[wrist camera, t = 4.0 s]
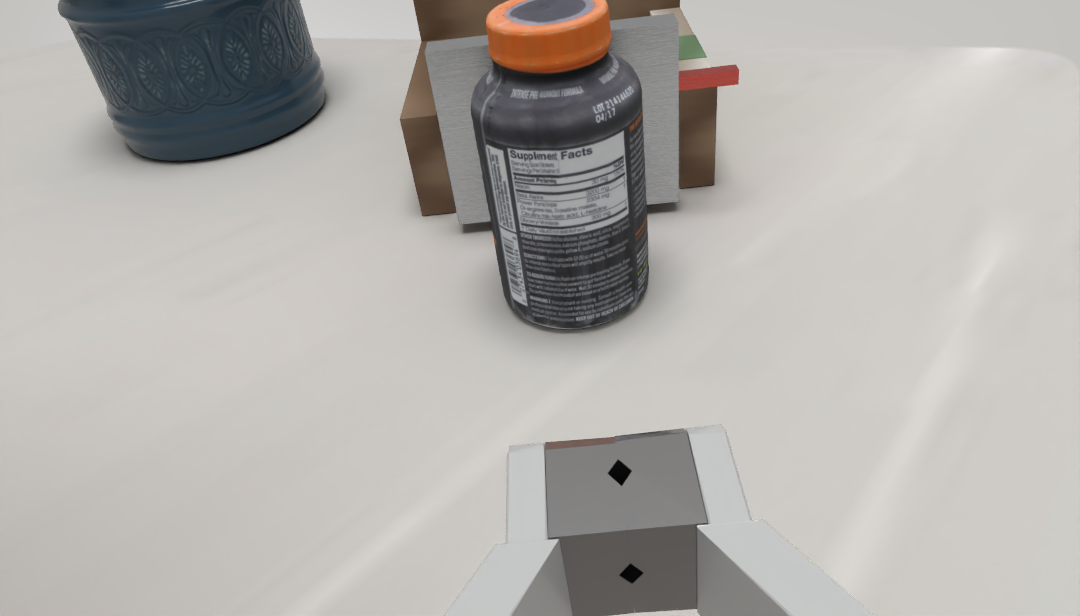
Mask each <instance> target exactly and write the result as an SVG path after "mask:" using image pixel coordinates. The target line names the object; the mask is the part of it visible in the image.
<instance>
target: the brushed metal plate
mask: <svg viewBox="0 0 1080 616" xmlns="http://www.w3.org/2000/svg"><path fill="white" fill-rule="evenodd" d="M610 28H611V31H612V40H611V43H610V46H609V49H608V52H611V53H614V54H615V55H617V56H619V57H621V58H622V59H624V60H625V61H626V62H628V63H629V64H630V65H631V66H632V67H633V69H634V70H635V72H636V73H637V75H638V77H639V80H640V83H641V87H642V107H643V131H644V154H645V156H644V157H645V179H646V200H647V205H650V204H659V203H669V202H678V201H679V91H682V90H691V89H700V88H709V87H718V86H727V85H735V84H738V79H739V69H738V68H737V66H736V65H728V66H720V67H711V68H702V69H693V70H684V71H679V23H678V20H677V18H676V16H675V14H674V13H671V14H662V15H654V16H645V17H637V18H628V19H620V20H611V21H610ZM488 47H489V42H488V35H483V36H475V37H466V38H457V39H449V40H440V41H432V42H427V45H426V49H425V57H426V62H427V67H428V72H429V77H430V82H431V87H432V92H433V97H434V102H435V106H436V111H437V116H438V121H439V126H440V131H441V136H442V141H443V146H444V151H445V156H446V161H447V166H448V171H449V176H450V181H451V186H452V191H453V196H454V201H455V206H456V211H457V216H458V221H459V225H460V224H470V223H479V222H489V221H490V214H489V210H488V204H487V201H486V193H485V188H484V183H483V178H482V171H481V166H480V160H479V155H478V150H477V145H476V139H475V133H474V129H473V121H472V117H471V98H472V94H473V91H474V89H475V86H476V85H477V83H478V82H479V80H480V79H481V78H482V77H483V75H484V74H485V73H487V72H488V71H489V70H490V69H491V68H493V62H492V59H491V58H490V55H489V51H488Z"/></svg>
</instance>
